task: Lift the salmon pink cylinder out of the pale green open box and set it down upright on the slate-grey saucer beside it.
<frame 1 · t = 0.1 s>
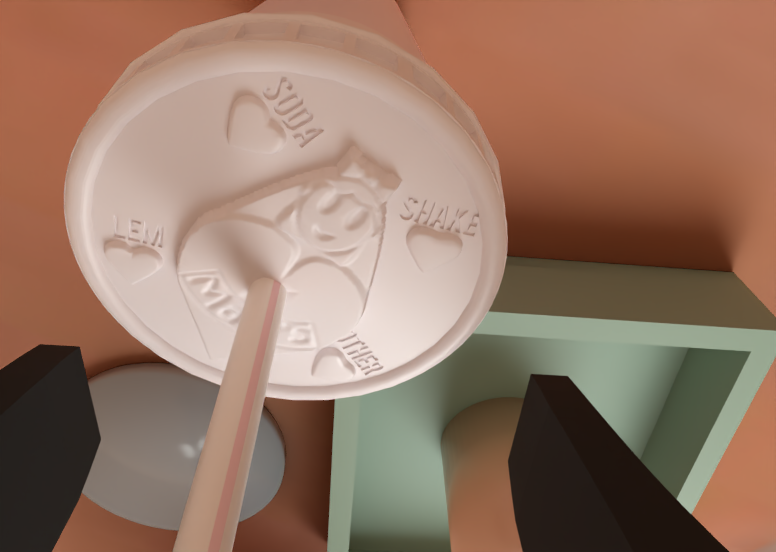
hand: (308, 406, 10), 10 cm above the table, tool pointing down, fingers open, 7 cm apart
salmon pink cylinder: (501, 442, 24), point 1 cm above the table, touching pale green open box
pale green open box: (499, 431, 24), on the table
saucer: (175, 448, 25), on the table
smoothie: (339, 39, 16), on the table
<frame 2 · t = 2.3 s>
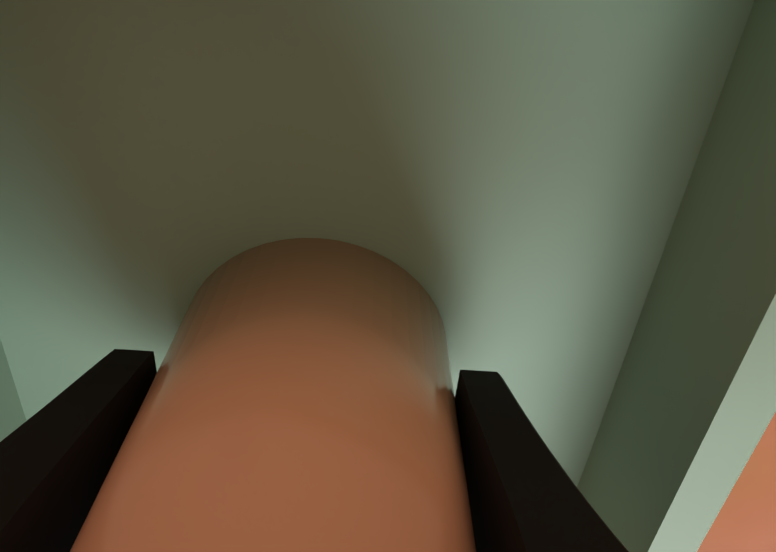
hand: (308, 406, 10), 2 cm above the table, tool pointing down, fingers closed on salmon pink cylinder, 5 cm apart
salmon pink cylinder: (316, 353, 11), point 1 cm above the table, touching pale green open box, gripper
pale green open box: (319, 333, 12), on the table
when the fingers open (3 cm above the table, at t = 6.7 s): salmon pink cylinder drops 1 cm, resting on saucer.
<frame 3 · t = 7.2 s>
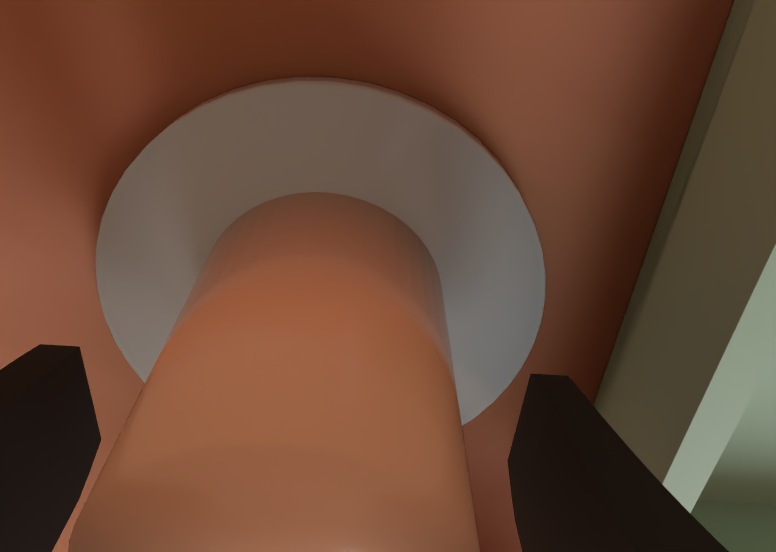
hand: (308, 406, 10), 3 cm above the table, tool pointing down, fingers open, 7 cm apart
salmon pink cylinder: (323, 301, 12), point 1 cm above the table, touching saucer
saucer: (325, 293, 13), on the table
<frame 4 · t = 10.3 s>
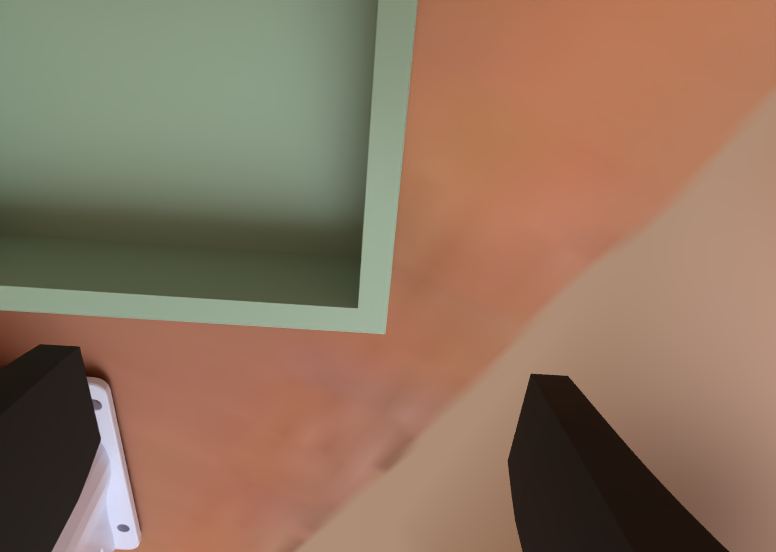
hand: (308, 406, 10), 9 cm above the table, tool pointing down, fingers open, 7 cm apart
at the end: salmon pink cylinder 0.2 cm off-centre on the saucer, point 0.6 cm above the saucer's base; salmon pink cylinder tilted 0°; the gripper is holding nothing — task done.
